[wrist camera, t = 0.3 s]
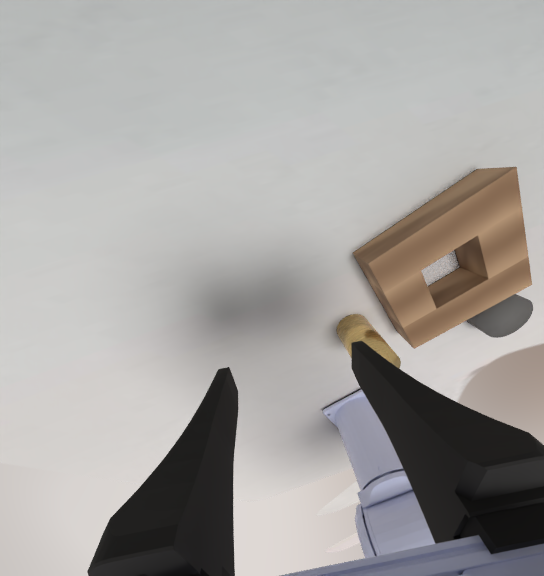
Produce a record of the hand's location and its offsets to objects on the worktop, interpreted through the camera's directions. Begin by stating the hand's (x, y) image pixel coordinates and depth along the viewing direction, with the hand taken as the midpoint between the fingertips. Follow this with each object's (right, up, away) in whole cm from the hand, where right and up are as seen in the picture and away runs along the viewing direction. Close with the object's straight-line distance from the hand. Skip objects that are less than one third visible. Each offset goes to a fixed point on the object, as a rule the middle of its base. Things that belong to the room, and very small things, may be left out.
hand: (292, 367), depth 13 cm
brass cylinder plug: (+8, 0, +12) cm, 14 cm away
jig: (+15, +7, +9) cm, 19 cm away
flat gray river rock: (+24, +2, +13) cm, 27 cm away
